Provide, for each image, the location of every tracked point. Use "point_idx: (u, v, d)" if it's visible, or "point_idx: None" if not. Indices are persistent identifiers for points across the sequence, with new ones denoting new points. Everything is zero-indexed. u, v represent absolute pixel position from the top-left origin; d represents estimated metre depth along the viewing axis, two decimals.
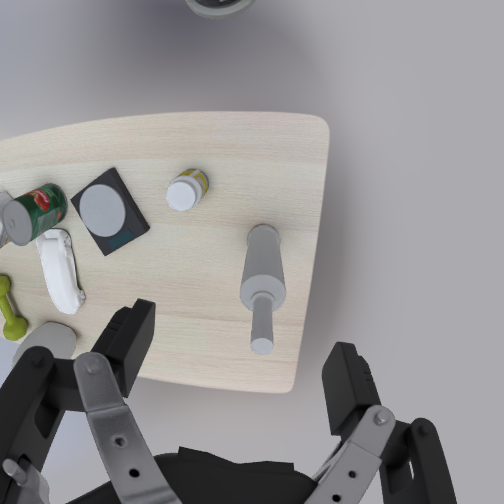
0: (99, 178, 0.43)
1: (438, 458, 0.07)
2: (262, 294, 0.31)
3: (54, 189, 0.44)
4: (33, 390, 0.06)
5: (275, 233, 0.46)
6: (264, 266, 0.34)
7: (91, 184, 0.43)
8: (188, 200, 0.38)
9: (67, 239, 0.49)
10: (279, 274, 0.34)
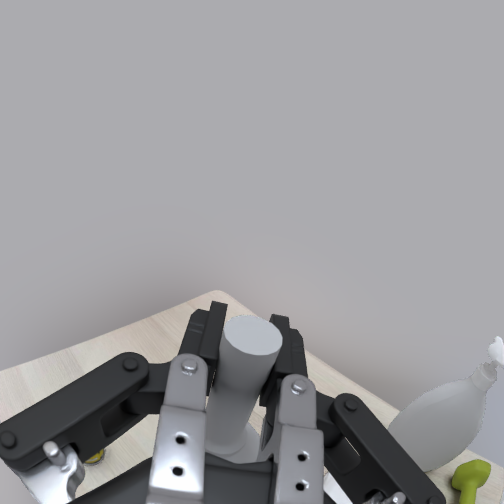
0: None
1: (377, 430, 0.08)
2: None
3: None
4: (112, 393, 0.07)
5: None
6: None
7: None
8: None
9: None
10: None
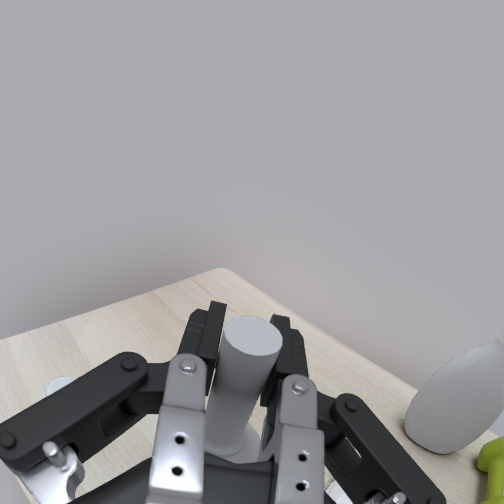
0: None
1: (378, 430, 0.08)
2: None
3: None
4: (111, 393, 0.07)
5: None
6: None
7: None
8: (61, 381, 0.24)
9: None
10: None
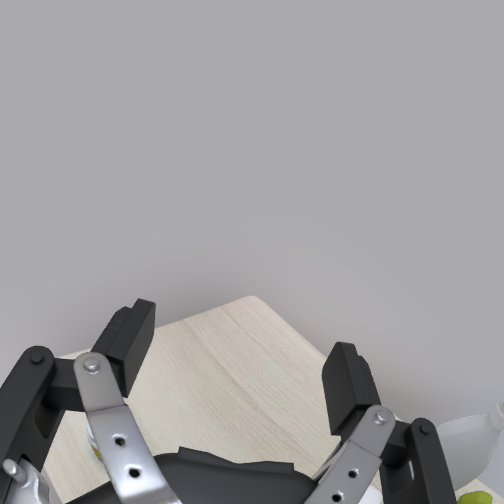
0: None
1: (438, 457, 0.07)
2: None
3: None
4: (33, 390, 0.06)
5: None
6: None
7: None
8: None
9: None
10: None
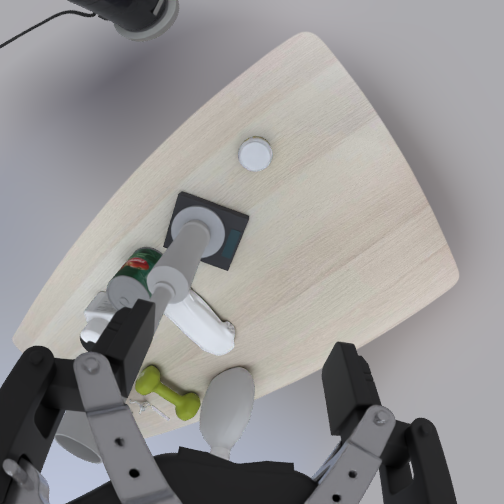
0: (176, 208, 0.48)
1: (438, 458, 0.07)
2: (159, 284, 0.32)
3: (143, 250, 0.52)
4: (33, 390, 0.06)
5: (202, 226, 0.46)
6: (167, 258, 0.35)
7: (172, 218, 0.49)
8: (263, 153, 0.38)
9: None
10: (181, 264, 0.34)
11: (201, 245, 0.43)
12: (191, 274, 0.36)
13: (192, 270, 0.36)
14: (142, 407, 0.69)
